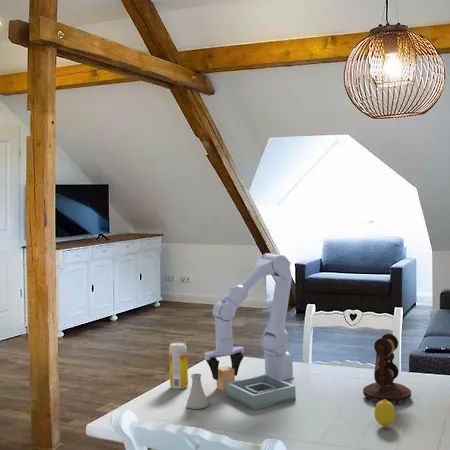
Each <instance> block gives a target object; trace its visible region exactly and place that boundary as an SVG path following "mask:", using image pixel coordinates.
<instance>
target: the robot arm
mask: <svg viewBox="0 0 450 450" xmlns="http://www.w3.org/2000/svg"><path fill="white" fill-rule="evenodd" d="M264 276H271V277H272V278H273V279H274V281H275V284H274V290H273V291H274V292H273V297H272V304H271V310H270V315H269V324H268V325H267V327H265V328H264V331H263V334H262V335H261V338H260V346H261V348H262V349H263V352H264V374H268V375H270V376H272V377H275V378H277V379H280V380H282V381H286V380H291V379H294V378H295V376H294V371H293V367H294V365H293V364H294V363H293V357H292V355H291V353H290V352H289V351H288V350H289V347H290V344H289V343H290V342H289V333H288V331H287V330H286V327H285V325H286V319H287V313H288V307H289V300H290V293H291V286H292V281H293V280H292V279H293V277H292V272H291V261H290V260H289V259H288V258H287V256H285V255H284V254H274V253H270V252H266V253H264V254H262V255H261V256H260V258H258V260H257V261H256V264H255V266H254V267H253V268H252V269H251V271H250V272H249V273H248V274H247V276H246V277H245V278H244V280H242V282H241V283H240V284H236V285H234V286H233V285H232V286H231V287H230V288H229V292H227V293H226V295H225V296H224V297H223V296H222V298H221V299H220V301H217V302H216V303H215V304H214V305H213V307H212V310H211V314H212V316H213V317H214V324H215V325H214V327H215V331H214V332H215V349H214V350H211V351H208V352H204V353H203V354H204V360H205V361H206V363H207V364H208V367H209V369H210V372H211V376H212V378H213V380H218V368H219V365H220V360H218V359H217V358H222V357H227V356H229V357H230V362H231V368H234V374H235V377H236V376H238V373H239V369H240V365H241V363H242V361H243V359H244V353H245V347H243V346H234V339H233V338H234V337H233V335H234V334H233V318H234V317H235V315H236V311H237V310H238V309H239V307H240V306H241V305H242V303H243V302H244V301H245V300H246V299H247V298H248V296H249V294H248V292H249V291H250V290H251V289H252V288H253V286H254V285H256V284H257V283H258V282H259V281H260V280H261V279H262V278H263V277H264ZM233 346H234V347H233Z"/></svg>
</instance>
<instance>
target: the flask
mask: <svg viewBox="0 0 450 450" xmlns="http://www.w3.org/2000/svg"><path fill="white" fill-rule="evenodd" d="M190 376H191V379H192V380H191V381H192V382H191V389H190V392H189V395H188V399H187V402H186V406H185V407H186V408H188V409H191V410H203V409H204V408H207V407H209V401H208V399H207V396H206V393H205V391H204V389H203V386H202V381H201V379H202V378H201V377H202V374H201V373H197V372H196V373H192V374H191V375H190Z"/></svg>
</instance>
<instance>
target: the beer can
mask: <svg viewBox="0 0 450 450" xmlns="http://www.w3.org/2000/svg"><path fill="white" fill-rule="evenodd" d="M168 357H169V358H168V359H169V383H170V384H169V385H170V387H171V389H173V390H184V389H186V388H188V387H187V386H188V385H189V376H188V375H189V372H188V371H189V368H188V347H187V345H186V343H185V342H178V341H177V342H176V341H175V342H172V343H170V344H169V347H168Z"/></svg>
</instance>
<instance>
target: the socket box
mask: <svg viewBox="0 0 450 450" xmlns="http://www.w3.org/2000/svg"><path fill="white" fill-rule="evenodd" d="M225 392H226V397H227V398H229V399H231V400H233V401H234V402H237V403H238V402H239V404H240V403H241V405H242V404H243V405H242V406H244V405H245V407H246V406H247V407H246V408H248V407H249V408H248V409H250V408H251V409H250V410H252V409H253V410H252V411H256V410H261V409H265V408H268V407H272V406H277V405H280V404H285V403H288V402H292V401H293V402H294V401H296V398H297V397H296V395H297V394H296V385H293V384H291V383H289V382H288V381H287V382H286V380H280V379H277V378H275V377H272V376H270V375H268V374H265V373H264V374H259V375H255V376H252V377H247V378H243V379H238V380H235V381H233V382H228V383H226V391H225Z"/></svg>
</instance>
